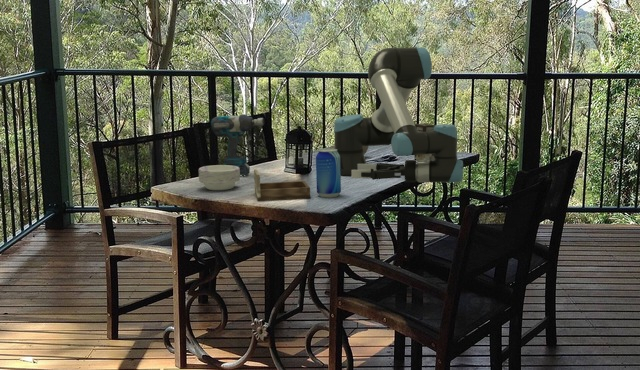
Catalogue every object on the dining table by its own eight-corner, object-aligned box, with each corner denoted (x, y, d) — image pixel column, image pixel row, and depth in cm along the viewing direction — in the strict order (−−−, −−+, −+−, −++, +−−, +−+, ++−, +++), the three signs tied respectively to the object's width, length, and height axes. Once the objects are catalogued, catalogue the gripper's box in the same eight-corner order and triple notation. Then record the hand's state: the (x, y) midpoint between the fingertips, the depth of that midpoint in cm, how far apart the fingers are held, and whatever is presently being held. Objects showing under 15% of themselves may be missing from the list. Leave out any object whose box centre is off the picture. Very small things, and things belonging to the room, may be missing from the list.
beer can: (345, 194, 275) (344, 149, 272) (332, 198, 268) (331, 152, 265) (325, 192, 279) (324, 147, 276) (312, 196, 272) (310, 150, 269)
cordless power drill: (264, 177, 316) (261, 115, 312) (211, 176, 320) (207, 115, 316) (269, 174, 324) (267, 113, 319) (217, 173, 328) (214, 113, 324)
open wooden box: (304, 191, 283) (304, 166, 282) (310, 198, 269) (309, 172, 268) (254, 193, 281) (253, 168, 279) (257, 201, 267) (256, 174, 265)
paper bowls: (247, 188, 291) (246, 167, 290) (209, 193, 283) (208, 172, 282) (229, 183, 304) (228, 163, 302) (193, 188, 296) (191, 167, 294)
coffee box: (413, 160, 352) (413, 124, 349) (425, 158, 355) (425, 123, 352) (425, 162, 344) (425, 125, 341) (437, 161, 347) (437, 124, 344)
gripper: (419, 155, 277) (359, 155, 281) (413, 165, 253) (348, 165, 257) (419, 176, 279) (360, 175, 283) (413, 188, 255) (349, 188, 259)
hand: (354, 170), depth 270 cm, fingers open, 13 cm apart
